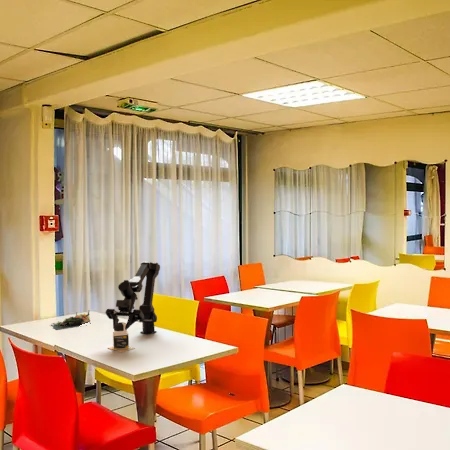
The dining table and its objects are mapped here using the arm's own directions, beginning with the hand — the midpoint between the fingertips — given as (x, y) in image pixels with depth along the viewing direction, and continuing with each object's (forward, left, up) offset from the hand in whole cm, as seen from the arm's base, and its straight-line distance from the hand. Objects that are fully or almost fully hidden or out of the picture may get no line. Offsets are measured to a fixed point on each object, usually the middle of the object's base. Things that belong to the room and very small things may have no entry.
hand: (119, 329), depth 253 cm
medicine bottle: (0, +1, -9) cm, 9 cm away
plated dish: (-72, +19, -11) cm, 76 cm away
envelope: (-1, +1, -10) cm, 10 cm away
